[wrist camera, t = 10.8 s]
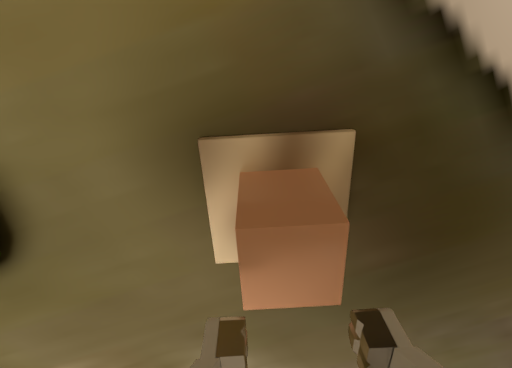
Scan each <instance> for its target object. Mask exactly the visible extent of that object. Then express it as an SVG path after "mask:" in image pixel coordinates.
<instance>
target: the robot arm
mask: <svg viewBox="0 0 512 368" xmlns="http://www.w3.org/2000/svg"><path fill="white" fill-rule="evenodd" d="M350 318H351V321H352V322H351V323H350V324H349V327H348V333H349V340H350V344H351V347H352V350H353V351H354V352H355V353H356V354H357V355H358V356H357V364H358V367H359V368H444V367H443V366H442V365H440V364H439V363H438V362H437V361H435V360H434V359H433V358H431V357H430V356H429V355H427V354H426V353H425V352H423V351H422V350H421V349H420V348H418V347H413V345H412V344H411V342H410V340H409V338H408V337H407V335H406V333H405V331H404V329H403V328H402V326H401V324H400V322H399V321H398V319H397V317H396V315H395V313H394V312H393V310H392V309H391V308H377V309H376V308H372V309H359V310H351V312H350ZM247 356H248V342H247V330H246V319H245V317H216V318H207V321H206V326H205V332H204V338H203V344H202V350H201V357H200V359H196V360H195V362H194V363H193V364H192V365H191V367H190V368H248V367H247Z"/></svg>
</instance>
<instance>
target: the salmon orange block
mask: <svg viewBox="0 0 512 368" xmlns="http://www.w3.org/2000/svg"><path fill="white" fill-rule="evenodd" d="M349 225H350V222H349V221H348V219H347V217H346V216H345V214H344V212H343V210H342V209H341V207H340V205H339V204H338V202H337V200H336V199H335V197H334V195H333V193H332V192H331V190H330V188H329V187H328V185H327V183H326V181H325V180H324V178H323V176H322V175H321V173H320V171H319V169H318V168H305V169H288V170H271V171H254V172H240V175H239V188H238V200H237V212H236V225H235V233H236V243H237V252H238V262H239V271H240V281H241V290H242V300H243V310H257V309H275V308H293V307H311V306H328V305H341V299H342V290H343V281H344V271H345V262H346V253H347V243H348V234H349Z"/></svg>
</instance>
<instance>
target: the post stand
mask: <svg viewBox="0 0 512 368" xmlns="http://www.w3.org/2000/svg"><path fill="white" fill-rule="evenodd" d="M355 135H356V131H355V130H354V129H342V130H325V131H307V132H290V133H272V134H255V135H237V136H220V137H202V138H199V139H198V146H199V153H200V160H201V166H202V173H203V180H204V187H205V194H206V200H207V207H208V214H209V221H210V228H211V234H212V241H213V248H214V255H215V261H216V263H233V262H238V252H237V243H236V233H235V225H236V212H237V200H238V188H239V175H240V172H254V171H271V170H288V169H305V168H318V169H319V171H320V173H321V175H322V176H323V178H324V180H325V181H326V183H327V185H328V187H329V188H330V190H331V192H332V193H333V195H334V197H335V199H336V200H337V202H338V204H339V205H340V207H341V209H342V210H343V212H344V214H345V216H346V217H347V212H348V202H349V193H350V183H351V174H352V164H353V154H354V145H355Z"/></svg>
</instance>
